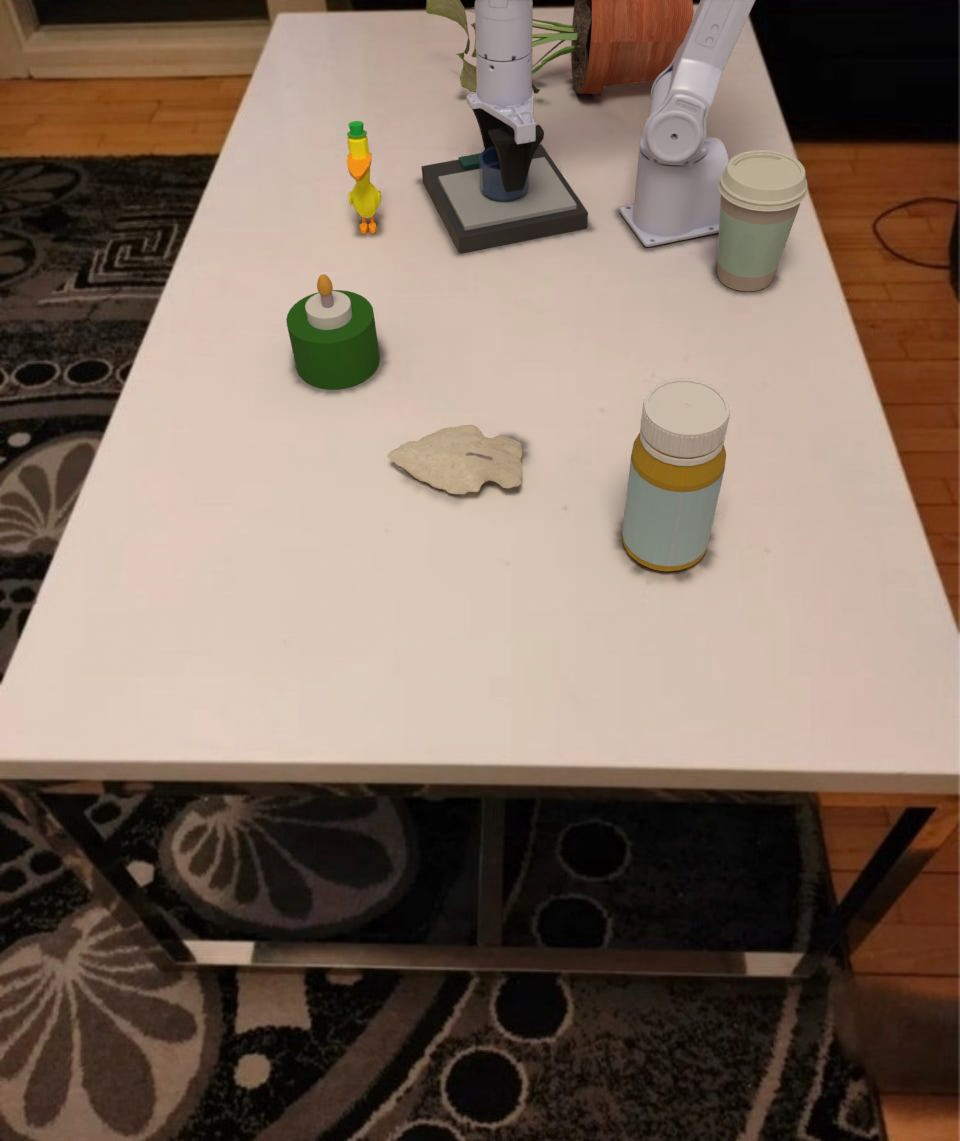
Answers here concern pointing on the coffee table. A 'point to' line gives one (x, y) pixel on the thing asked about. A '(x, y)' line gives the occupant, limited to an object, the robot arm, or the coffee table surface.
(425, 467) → the decorative stone
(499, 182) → the blue cup
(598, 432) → the coffee table surface
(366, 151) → the toy figure
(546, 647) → the coffee table surface
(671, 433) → the bottle
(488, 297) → the coffee table surface
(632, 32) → the potted plant
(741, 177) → the coffee cup
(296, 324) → the candle
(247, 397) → the coffee table surface
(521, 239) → the scale
